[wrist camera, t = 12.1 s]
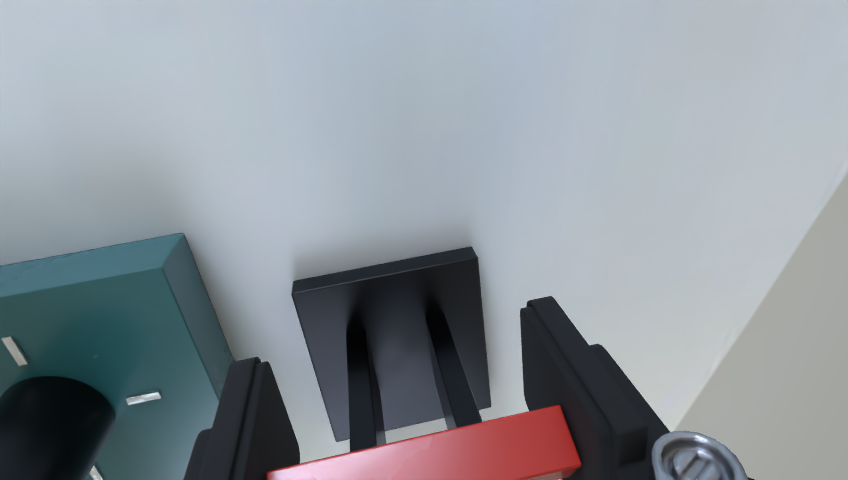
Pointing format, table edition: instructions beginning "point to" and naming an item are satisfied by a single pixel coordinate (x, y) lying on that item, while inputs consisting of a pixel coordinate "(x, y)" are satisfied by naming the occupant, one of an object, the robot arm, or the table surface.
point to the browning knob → (52, 429)
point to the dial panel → (122, 346)
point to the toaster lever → (459, 454)
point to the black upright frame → (397, 344)
